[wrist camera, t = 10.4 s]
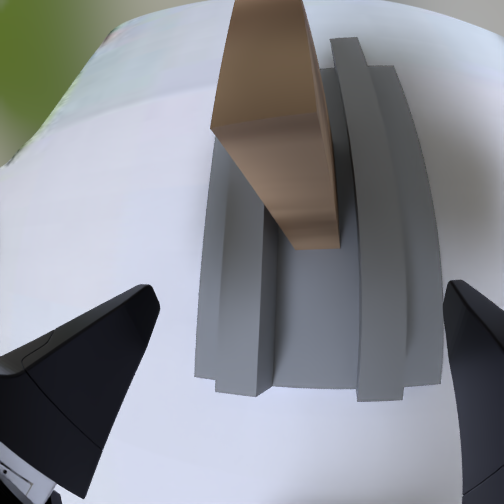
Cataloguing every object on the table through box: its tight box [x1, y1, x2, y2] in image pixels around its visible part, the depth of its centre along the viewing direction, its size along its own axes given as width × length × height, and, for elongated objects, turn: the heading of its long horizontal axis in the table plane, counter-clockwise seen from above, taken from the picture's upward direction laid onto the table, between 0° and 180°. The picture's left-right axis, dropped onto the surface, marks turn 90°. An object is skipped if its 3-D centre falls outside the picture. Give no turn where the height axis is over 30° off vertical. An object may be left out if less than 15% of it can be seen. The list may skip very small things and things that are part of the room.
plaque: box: [210, 0, 340, 250], centre depth 12 cm, size 7×2×11 cm, turn 177°
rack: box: [194, 37, 443, 402], centre depth 16 cm, size 22×14×4 cm, turn 177°
